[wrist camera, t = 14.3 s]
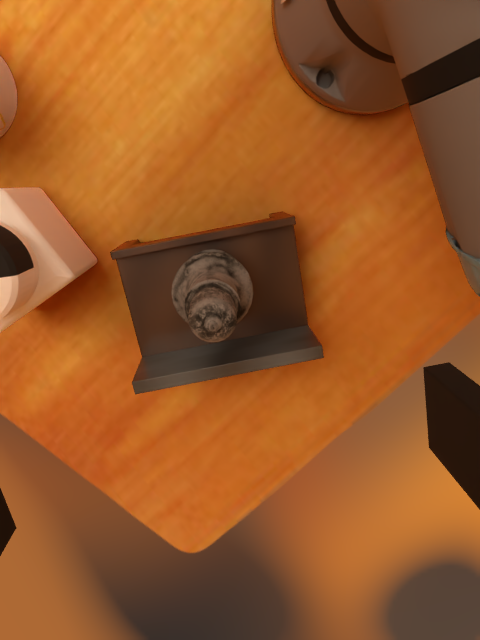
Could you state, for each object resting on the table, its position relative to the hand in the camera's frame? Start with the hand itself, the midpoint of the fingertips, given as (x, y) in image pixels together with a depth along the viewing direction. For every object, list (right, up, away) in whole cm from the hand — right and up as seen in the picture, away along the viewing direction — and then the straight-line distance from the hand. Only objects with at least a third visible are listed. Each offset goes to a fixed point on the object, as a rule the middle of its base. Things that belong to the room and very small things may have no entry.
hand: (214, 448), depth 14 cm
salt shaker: (-1, +7, +23) cm, 24 cm away
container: (-17, +10, +26) cm, 33 cm away
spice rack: (-2, +7, +28) cm, 29 cm away
